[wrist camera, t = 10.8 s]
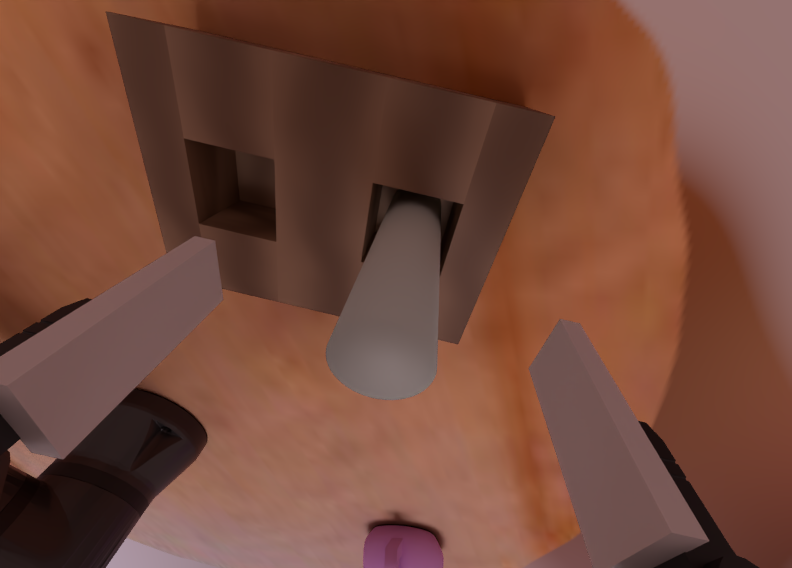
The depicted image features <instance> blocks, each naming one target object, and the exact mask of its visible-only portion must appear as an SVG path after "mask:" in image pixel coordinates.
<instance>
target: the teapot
mask: <svg viewBox="0 0 792 568" xmlns="http://www.w3.org/2000/svg"><path fill="white" fill-rule="evenodd" d="M363 565H364V568H443V553H442V550H441V548H440V546H439V543H438V541H437V539H436V537H435V536H434V535H433V534H432V533H430V532H428V531H425V530H422V529H418V528H413V527H408V526H399V525H384V526H377V527H375V528H373V530H372V531H371V532H370V533H369V535H368V536H367V538H366V540H365V544H364V555H363Z"/></svg>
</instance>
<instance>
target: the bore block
mask: <svg viewBox="0 0 792 568" xmlns="http://www.w3.org/2000/svg"><path fill="white" fill-rule="evenodd" d="M106 15H107V19H108V23H109V27H110V30H111V34H112V38H113V42H114V46H115V50H116V54H117V58H118V62H119V66H120V70H121V74H122V78H123V82H124V86H125V90H126V94H127V98H128V102H129V106H130V110H131V114H132V118H133V122H134V126H135V130H136V133H137V137H138V141H139V145H140V149H141V153H142V157H143V161H144V165H145V169H146V173H147V177H148V181H149V185H150V189H151V193H152V197H153V201H154V205H155V209H156V213H157V217H158V221H159V225H160V229H161V233H162V237H163V240H164V244H165V248H166V252H167V253H168V252H170V251H171V250H173V249H175V248H176V247H178V246H179V245H181V244H183V243H184V242H186V241H188V240H189V239H191V238H192V237H194V236H197V237H201V238H205V239H210V240H214V241H215V244H216V251H217V258H218V265H219V272H220V279H221V287H222V289H226V290H230V291H235V292H239V293H243V294H247V295H251V296H256V297H260V298H264V299H268V300H273V301H277V302H281V303H285V304H289V305H294V306H298V307H302V308H306V309H311V310H315V311H319V312H323V313H328V314H332V315H336V316H340V315H341V313H342V310H343V308H344V306H345V304H346V301H347V299H348V297H349V295H350V292H351V290H352V288H353V286H354V283H355V281H356V279H357V277H358V275H359V272H360V270H361V268H362V266H363V263H364V261H365V259H366V257H367V254H368V252H369V250H370V248H371V245H372V243H373V241H374V239H375V236H376V234H377V232H378V230H379V227H380V225H381V223H382V221H383V219H384V216H385V214H386V212H387V210H388V207H389V205H390V203H391V201H392V198H393V196H394V194H395V193H396V191H397V190H398V189H401V190H405V191H410V192H414V193H418V194H422V195H427V196H431V197H435V198H439V199H440V200H441V242H440V278H439V314H438V340H442V341H446V342H450V343H454V344H458V343H459V341H460V339H461V336H462V334H463V332H464V329H465V327H466V325H467V322H468V320H469V318H470V315H471V313H472V311H473V308H474V306H475V304H476V301H477V299H478V296H479V294H480V292H481V289H482V287H483V285H484V282H485V280H486V278H487V275H488V273H489V271H490V268H491V266H492V264H493V261H494V259H495V257H496V254H497V252H498V250H499V247H500V245H501V243H502V240H503V238H504V236H505V233H506V231H507V229H508V226H509V224H510V222H511V219H512V217H513V215H514V212H515V210H516V208H517V205H518V203H519V200H520V198H521V196H522V193H523V191H524V189H525V186H526V184H527V182H528V179H529V177H530V175H531V172H532V170H533V168H534V165H535V163H536V161H537V158H538V156H539V154H540V151H541V149H542V147H543V144H544V142H545V140H546V137H547V135H548V133H549V130H550V128H551V126H552V123H553V121H554V119H555V116H552V115H549V114H546V113H542V112H539V111H536V110H533V109H530V108H527V107H523V106H519V105H514V104H510V103H506V102H502V101H497V100H493V99H489V98H485V97H480V96H476V95H472V94H467V93H463V92H459V91H455V90H450V89H446V88H442V87H438V86H433V85H429V84H425V83H421V82H416V81H412V80H408V79H403V78H399V77H395V76H391V75H386V74H382V73H378V72H374V71H369V70H365V69H361V68H357V67H352V66H348V65H344V64H339V63H335V62H331V61H327V60H322V59H318V58H314V57H310V56H305V55H301V54H297V53H292V52H288V51H284V50H280V49H275V48H271V47H267V46H263V45H258V44H254V43H250V42H246V41H241V40H237V39H233V38H228V37H224V36H220V35H216V34H211V33H207V32H203V31H199V30H194V29H189V28H184V27H179V26H175V25H170V24H165V23H160V22H155V21H150V20H146V19H141V18H136V17H131V16H126V15H121V14H117V13H112V12H107V11H106Z"/></svg>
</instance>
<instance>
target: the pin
mask: <svg viewBox="0 0 792 568" xmlns="http://www.w3.org/2000/svg"><path fill="white" fill-rule="evenodd" d="M440 242H441V200H440V199H439V198H435V197H431V196H427V195H422V194H418V193H414V192H410V191H405V190H401V189H398V190H397V191H396V193H395V194H394V196H393V198H392V201H391V203H390V205H389V207H388V210H387V212H386V214H385V216H384V219H383V221H382V223H381V225H380V227H379V230H378V232H377V234H376V236H375V239H374V241H373V243H372V245H371V248H370V250H369V252H368V254H367V257H366V259H365V261H364V263H363V266H362V268H361V270H360V272H359V275H358V277H357V279H356V281H355V283H354V286H353V288H352V290H351V292H350V295H349V297H348V299H347V301H346V304H345V306H344V308H343V310H342V313H341V315H340V317H339V319H338V322H337V324H336V326H335V328H334V331H333V333H332V335H331V337H330V340H329V342H328V344H327V348H326V359H327V363H328V366H329V368H330V370H331V371H332V373H333V374H334V376H335V377H336V378H337V379H338V380H339V381H340V382H341V383H343V384H344V385H345V386H347V387H348V388H350V389H351V390H353V391H355V392H357V393H359V394H362V395H365V396H368V397H371V398H376V399H383V400H399V399H405V398H409V397H412V396H415V395H417V394H419V393H421V392H422V391H424V390H425V389H426V388H427V387H428V386H430V384H431V383H432V382H433V380H434V378H435V375H436V372H437V350H438V314H439V278H440Z"/></svg>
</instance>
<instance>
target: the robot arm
mask: <svg viewBox="0 0 792 568" xmlns="http://www.w3.org/2000/svg"><path fill="white" fill-rule="evenodd" d="M222 300H223V294H222V287H221V279H220V272H219V265H218V258H217V251H216V244H215V241H214V240H210V239H205V238H201V237H197V236H194V237H192V238H191V239H189V240H188V241H186V242H184V243H183V244H181V245H179V246H178V247H176V248H175V249H173V250H171V251H170V252H168V253H167V254H165V255H163V256H162V257H160V258H158V259H157V260H155V261H154V262H152V263H150V264H149V265H147V266H146V267H144V268H142V269H141V270H139V271H137V272H136V273H134V274H133V275H131V276H129V277H128V278H126V279H125V280H123V281H121V282H120V283H118V284H117V285H115V286H113V287H112V288H110V289H108V290H107V291H105V292H104V293H102V294H100V295H99V296H97V297H96V298H94V299H88V298H86V299H84V300H81V301H78V302H75V303H73V304H70V305H67V306H64V307H62V308H60V309H58V310H57V311H55V312H53V313H52V314H50V315H48V316H47V317H45V318H43V319H41V322H40V323H38V322H36V323H35V324H33V325H31V326H30V327H28V328H26V329H25V330H23V333H18V334H16V335H14V336H13V337H11V338H9V339H8V340H6V341H4V342H3V343H1V344H0V568H106V566H107V565H108V564H109V562H110V561H111V559H112V558H113V556H114V555H115V553H116V552H117V551H118V549H119V548H120V546H121V545H122V543H123V542H124V540H125V539H126V537H127V536H128V535H129V533H130V532H131V530H132V529H133V527H134V526H135V524H136V523H137V522H138V520H139V518H140V517H141V516H142V514H143V513H144V511H145V510H146V508H147V507H148V506H149V504H150V503H151V502H152V500H153V499H154V498H155V497H156V496H157V495H158V494H159V493H160V492H161V491H162V490H163V489H165V488H166V487H167V486H168V485H169V484H170V483H171V482H172V481H173V480H175V479H176V478H177V477H178V476H179V475H180V474H181V473H182V472H183V471H184V470H186V469H187V468H188V467H189V466H190V465H191V464H192V463H193V462H194V461H195V460H196V459H197V457H198V456H199V454H200V453H201V451H202V450H203V448H204V447H205V445H206V443H207V437H206V433H205V431H204V430H203V428H202V426H201V425H200V424H199V423H198V422H197V421H196V420H195V419H194V418H193V417H192V416H191V415H190V414H189V413H187V412H186V411H184V410H183V409H182V408H180V407H178V406H177V405H175V404H173V403H172V402H170V401H168V400H166V399H163V398H161V397H159V396H156V395H154V394H151V393H147V392H144V391H140V390H135V389H134V388H135V387H136V386H137V385H138V384H139V383H140V382H141V381H142V380H143V379H144V378H145V377H146V376H147V375H148V374H149V373H150V372H151V371H152V370H153V369H154V368H155V367H156V366H157V365H158V364H159V363H160V362H161V361H162V360H163V359H164V358H165V357H166V356H167V355H168V354H169V353H170V352H171V351H172V350H173V349H174V348H175V347H176V346H177V345H178V344H179V343H180V342H181V341H182V340H183V339H184V338H185V337H186V336H187V335H188V334H189V333H190V332H191V331H192V330H193V329H194V328H195V327H196V326H197V325H198V324H199V323H200V322H201V321H202V320H203V319H204V318H205V317H206V316H207V315H208V314H209V313H210V312H211V311H212V310H213V309H214V308H215V307H216V306H217V305H218V304H219V303H220V302H221V301H222ZM529 371H530V374H531V377H532V380H533V383H534V386H535V389H536V393H537V396H538V399H539V402H540V405H541V408H542V411H543V414H544V417H545V421H546V424H547V427H548V430H549V433H550V436H551V439H552V442H553V446H554V449H555V452H556V455H557V458H558V461H559V464H560V467H561V470H562V474H563V477H564V480H565V483H566V486H567V489H568V492H569V495H570V498H571V502H572V505H573V508H574V511H575V514H576V517H577V520H578V523H579V526H580V530H581V533H582V536H583V539H584V542H585V545H586V548H587V551H588V555H589V558H590V560H591V564H592V567H593V568H759V567H757V566H755V565H754V564H753V563H751V562H750V561H748V560H747V559H745V558H742V557H739V556H737V555H736V554H735V553H734V551H733V550H732V549H731V547H730V545H729V544H728V542H727V541H726V539H725V538H724V536H723V534H722V533H721V531H720V530H719V528H718V527H717V525H716V523H715V522H714V520H713V519H712V517H711V515H710V514H709V512H708V511H707V509H706V508H705V506H704V504H703V503H702V501H701V500H700V498H699V497H698V495H697V493H696V492H695V490H694V489H693V487H692V486H691V484H690V482H688V481H686V476H685V475H684V473H683V471H682V470H681V469H680V467H679V465H678V464H676V463H675V459H674V457H673V456H672V454H671V452H670V451H669V449H668V448H667V446H666V444H665V443H664V442H663V440H662V439H661V438H660V437H659V436H658V435H657V434H656V433H655V432H654V431H653V430H652V429H651V428H650V426H649V425H648V424H647V423H645V422H640V421H638V420H637V419H636V417H635V415H634V414H633V412H632V410H631V408H630V407H629V405H628V403H627V402H626V400H625V398H624V397H623V395H622V393H621V392H620V390H619V388H618V387H617V385H616V383H615V382H614V380H613V378H612V377H611V375H610V373H609V372H608V370H607V368H606V367H605V365H604V363H603V362H602V360H601V358H600V356H599V355H598V353H597V351H596V350H595V348H594V346H593V345H592V343H591V341H590V340H589V338H588V336H587V335H586V333H585V331H584V330H583V328H582V326H581V325H580V323H575V322H571V321H566V320H562V319H560V320H559V321H558V323H557V325H556V326H555V328H554V329H553V331H552V333H551V334H550V336H549V337H548V339H547V340H546V342H545V344H544V345H543V347H542V348H541V350H540V351H539V353H538V355H537V356H536V358H535V359H534V361H533V363H532V364H531V366H530V367H529ZM19 439H20V440H21V441H22V442H23V443H24V444H25V445H26V447H27V448H28V449H29V450H30V451H31V453H36V454H40V455H45V456H49V457H54V458H57V459H56V460H55V461H54V462H53V463H52V464H51V465H50V466H49V467H48V468H47V469H46V470H45V471H44V472H43V473H42V474H41V475H40V476H39V477H37V478H34V477H32V476H30V475H29V474H27V473H25V472H23V471H21V470H19V469H17V468H15V467H13V466H12V465H10V452H9V451H8V449H9V448H10V447H11V446H12V445H14V444H15V443H16V442H17V441H18V440H19Z"/></svg>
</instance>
